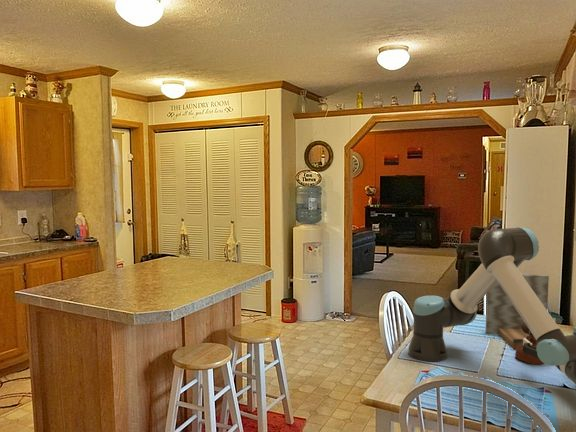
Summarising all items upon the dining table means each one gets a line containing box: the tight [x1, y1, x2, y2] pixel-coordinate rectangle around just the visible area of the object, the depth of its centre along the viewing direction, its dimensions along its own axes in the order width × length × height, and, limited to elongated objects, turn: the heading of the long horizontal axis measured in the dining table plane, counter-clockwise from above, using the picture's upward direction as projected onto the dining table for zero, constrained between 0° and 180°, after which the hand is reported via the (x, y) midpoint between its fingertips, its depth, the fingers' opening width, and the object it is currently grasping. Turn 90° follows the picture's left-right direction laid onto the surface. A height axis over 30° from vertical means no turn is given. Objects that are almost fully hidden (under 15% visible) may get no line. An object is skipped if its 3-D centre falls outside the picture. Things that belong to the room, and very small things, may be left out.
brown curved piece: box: [514, 322, 544, 365], centre depth 186 cm, size 15×11×20 cm
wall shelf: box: [485, 273, 550, 351], centre depth 205 cm, size 26×22×28 cm
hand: (543, 342), depth 175 cm, fingers open, 13 cm apart
